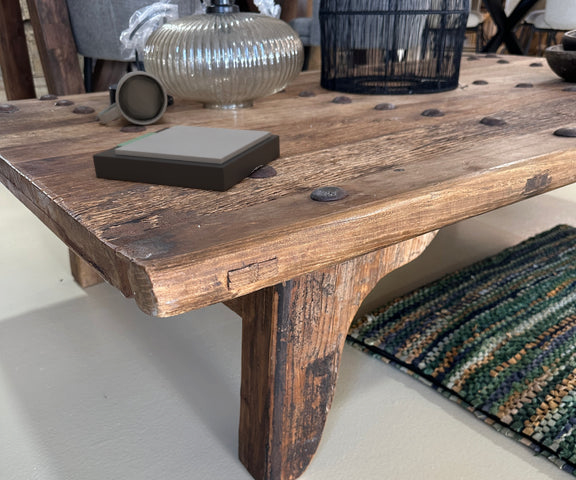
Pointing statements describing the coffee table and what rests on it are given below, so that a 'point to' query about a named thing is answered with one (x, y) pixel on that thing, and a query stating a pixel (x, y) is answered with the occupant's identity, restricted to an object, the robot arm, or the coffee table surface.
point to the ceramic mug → (137, 99)
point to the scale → (189, 157)
